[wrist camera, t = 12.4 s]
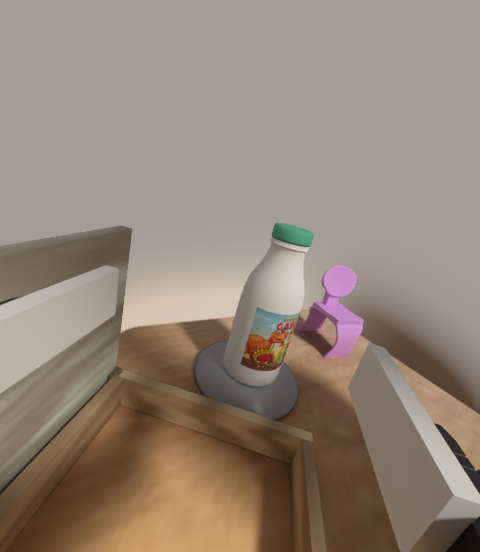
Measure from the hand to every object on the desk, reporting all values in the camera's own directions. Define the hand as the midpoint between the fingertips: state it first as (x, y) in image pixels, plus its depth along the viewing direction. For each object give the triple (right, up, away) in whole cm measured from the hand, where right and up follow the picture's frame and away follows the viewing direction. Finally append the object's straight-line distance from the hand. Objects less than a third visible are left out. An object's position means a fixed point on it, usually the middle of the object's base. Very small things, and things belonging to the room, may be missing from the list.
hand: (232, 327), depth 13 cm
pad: (+1, -11, +22) cm, 24 cm away
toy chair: (+16, -10, +36) cm, 41 cm away
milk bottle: (+2, -10, +22) cm, 25 cm away
